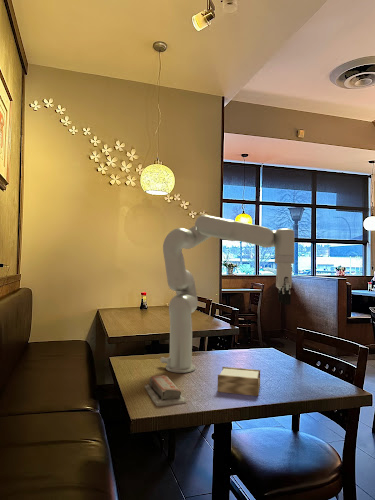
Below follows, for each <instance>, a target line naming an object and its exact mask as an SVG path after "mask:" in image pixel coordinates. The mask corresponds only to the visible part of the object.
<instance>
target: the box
mask: <svg viewBox="0 0 375 500" xmlns="http://www.w3.org/2000/svg"><path fill="white" fill-rule="evenodd" d="M223 368H225V369H237V370H248V371H259V377H258V378H250V377H240V376H229V375H220V374H217V392H218V393H228V394H235V395H236V394H237V395H244V396H254V397H255V396H256V397H259V394H260V389H261V370H260V369H253V368H244V367H243V368H241V367H231V366H230V367H229V366H222V370H223ZM222 370H221V371H222Z"/></svg>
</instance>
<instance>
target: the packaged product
mask: <svg viewBox="0 0 375 500" xmlns="http://www.w3.org/2000/svg"><path fill="white" fill-rule="evenodd" d="M148 382H149V383H148V384H144V389H145V390H146V392H147V394H148V395H149V397H150V399H151V401H152V402H153V403H154V404H155V406H156V407H163V406H171V405H172V406H173V405H179V404H187V399H186V398H185V397H184V396H182V391H181V390H180V389H179V388H178V386H177V385H176V384H175V383H174V382H173V381H172V380H171V379H170V377H168V375H164V374H163V375H151V376H150V378H149V381H148Z"/></svg>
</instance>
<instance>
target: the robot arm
mask: <svg viewBox="0 0 375 500" xmlns="http://www.w3.org/2000/svg"><path fill="white" fill-rule="evenodd" d="M212 237H213V238H216V239H221V240H225V241H231V242H242V243H248V244H252V245H254V246H255V245H256V246H259V247H261V248H273V247H274V264H276V273H275V275H276V276H275V287H276V288H277V289H278V292H277V293H278V296H277V297H278V299H277V301H278V303H281V304H282V305H285V306H286V305H287V306H290V305H291V302H292V301H291V288H292V285H293V284H292V280H293V277H292V276H293V275H292V264H293V265H294V264H295V231H294V229H291V228H278V229H276V230H274V229H273V230H272V229H270V228H269V227H265V226H261V225H256V224H252V223H247V222H241V221H238V220H237V221H236V220H233V219H227V218H222V217H219V216H213V215H208V214H202V215H201V214H200V215H199V216H198V217H197V218H196V220H195V223H194V226H192V227H190V228H188V229H186V228H184V227H177V228H174V229H173V230H171V231H170V232H169V233H168V234H167V235H166V237H164V241H163V245H162V253H163V259H164V264H165V265H164V267H165V271H166V280H167V285H168V287H169V289H171V290H172V291H173V292H175V294H176V295H174V296H173V297H172V298H171V299H170V301H169V304H168V314H169V356H167V357H163V356H161V357H160V362H161V363H162V364H166V365H165V370H167V372H171V373H176V374H177V373H179V374H180V373H181V374H182V373H183V374H184V373H185V374H186V373H191V372H193V371H195V370H196V364H193V363H192V361H193V360H192V359H193V350H192V349H193V319H192V314H193V313H194V312H195V311H196V310H197V308H198V306H199V299H198V293H197V289H196V281H195V278H194V276H193V273H192V272H190V271H189V270H188V269H187V268H186V263H185V259H184V254H183V249H184V250H185V249H186V250H187V249H188V250H189V249H192V248H195V247H196V246H198V245H200V244H201V243H203V242H205V241H207V240H208V239H210V238H212Z"/></svg>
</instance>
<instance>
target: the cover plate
mask: <svg viewBox="0 0 375 500" xmlns="http://www.w3.org/2000/svg"><path fill="white" fill-rule="evenodd" d="M219 375H229V376H240V377H250V378H258V377H259V371H248V370H237V369H225V368H223V370H221V372H220V374H219Z"/></svg>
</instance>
